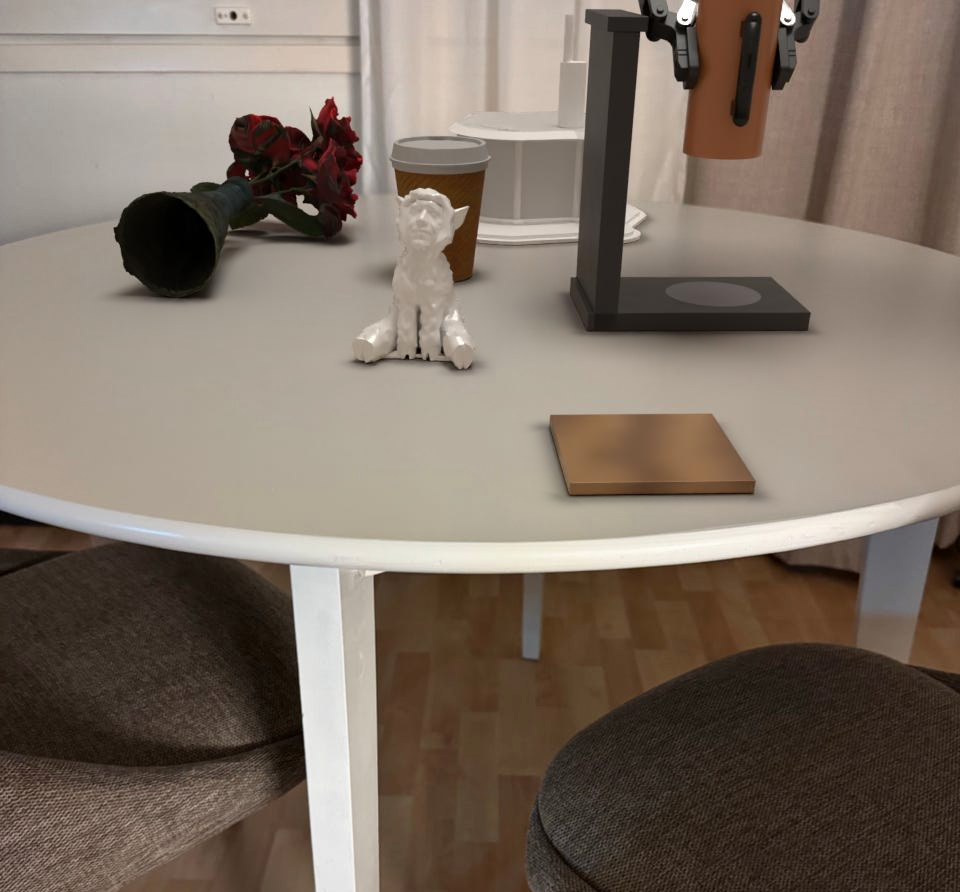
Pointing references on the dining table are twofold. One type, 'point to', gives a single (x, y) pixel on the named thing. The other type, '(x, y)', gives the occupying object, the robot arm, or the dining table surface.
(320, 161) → the red rose bouquet
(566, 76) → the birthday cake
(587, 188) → the coffee maker
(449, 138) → the disposable coffee cup
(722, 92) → the thermos flask
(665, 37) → the robot arm
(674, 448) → the trivet
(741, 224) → the dining table surface
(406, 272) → the white creature statuette
